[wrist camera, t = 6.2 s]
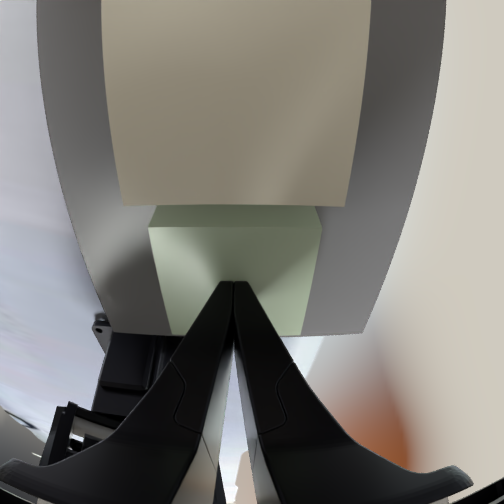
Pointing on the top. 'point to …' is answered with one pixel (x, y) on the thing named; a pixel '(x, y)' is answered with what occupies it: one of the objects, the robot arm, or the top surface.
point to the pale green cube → (236, 258)
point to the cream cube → (234, 99)
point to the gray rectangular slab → (331, 218)
